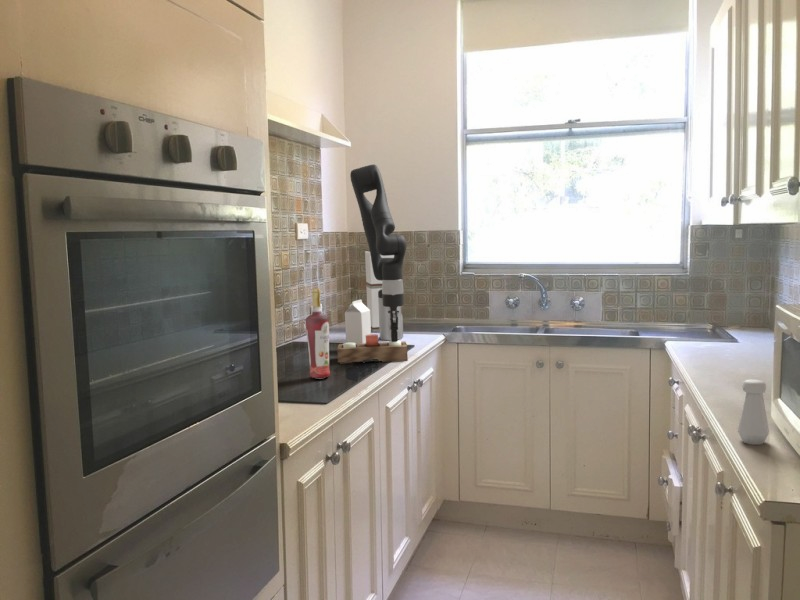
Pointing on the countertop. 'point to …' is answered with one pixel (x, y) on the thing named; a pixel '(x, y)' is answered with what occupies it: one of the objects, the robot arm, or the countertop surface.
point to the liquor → (318, 339)
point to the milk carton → (357, 322)
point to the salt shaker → (753, 414)
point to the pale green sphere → (349, 345)
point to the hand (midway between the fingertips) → (394, 341)
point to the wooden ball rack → (373, 352)
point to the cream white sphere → (395, 343)
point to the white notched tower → (373, 292)
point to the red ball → (372, 340)
